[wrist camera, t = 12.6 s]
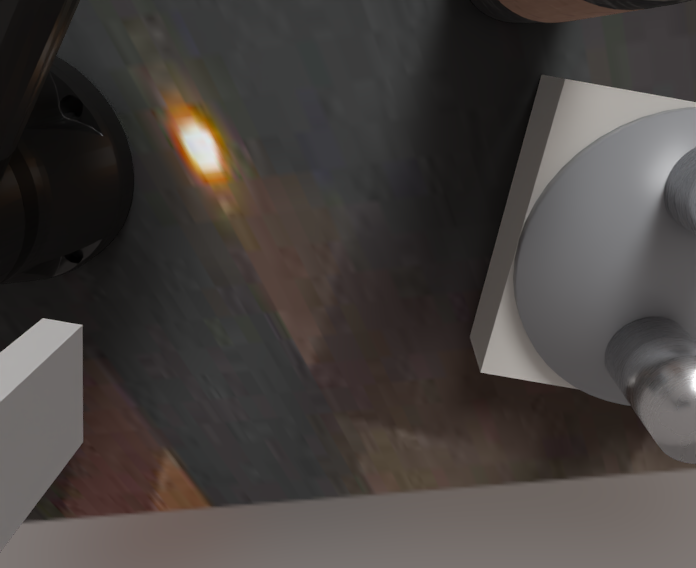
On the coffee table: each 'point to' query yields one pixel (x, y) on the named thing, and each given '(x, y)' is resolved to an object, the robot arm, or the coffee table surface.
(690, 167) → the cylinder
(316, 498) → the coffee table surface
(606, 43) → the coffee table surface
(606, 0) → the travel mug
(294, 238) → the coffee table surface
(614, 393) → the scale
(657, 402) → the cylinder
